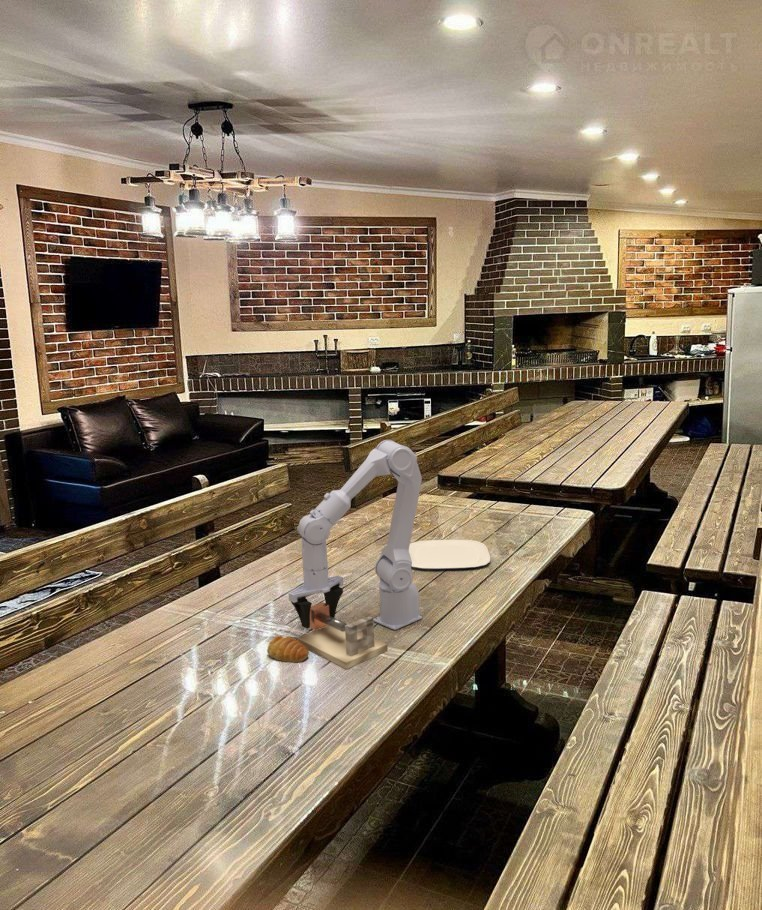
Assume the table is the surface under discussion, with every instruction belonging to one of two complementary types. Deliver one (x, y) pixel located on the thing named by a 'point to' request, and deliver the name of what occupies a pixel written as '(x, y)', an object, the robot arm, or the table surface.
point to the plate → (448, 554)
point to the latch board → (345, 643)
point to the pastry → (287, 649)
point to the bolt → (324, 618)
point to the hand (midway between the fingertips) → (318, 622)
